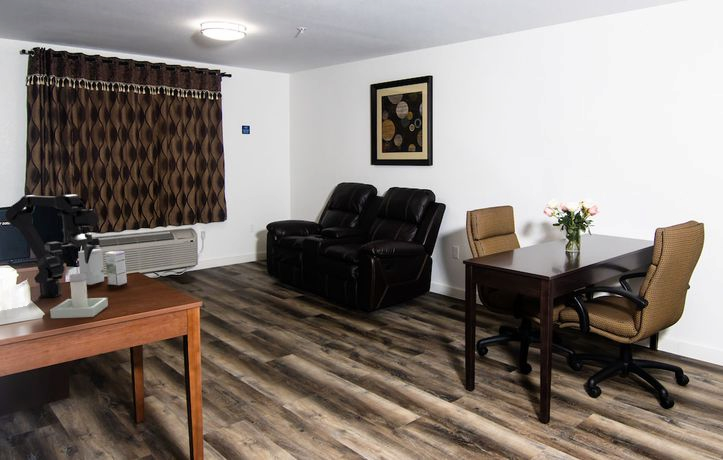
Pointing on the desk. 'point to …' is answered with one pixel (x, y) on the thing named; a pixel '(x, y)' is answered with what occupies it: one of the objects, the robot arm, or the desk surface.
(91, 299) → the tray
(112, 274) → the syrup box
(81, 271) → the skincare box
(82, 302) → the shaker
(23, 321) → the desk surface
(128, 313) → the desk surface
